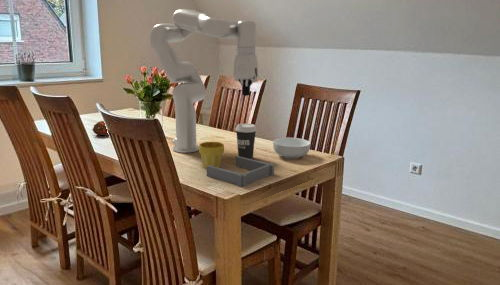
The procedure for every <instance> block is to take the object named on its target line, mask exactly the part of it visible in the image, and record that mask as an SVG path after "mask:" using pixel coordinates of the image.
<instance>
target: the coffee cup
mask: <svg viewBox="0 0 500 285" xmlns="http://www.w3.org/2000/svg"><path fill="white" fill-rule="evenodd" d="M235 131H236V145H237V156H240V157H244V158H248V159H252V160H254V152H255V151H254V150H255V142H256V134H257V133H256V132H258V130H257V127H256V125H255V124H253V123H238V124H237V125H236V127H235Z"/></svg>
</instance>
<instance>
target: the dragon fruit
mask: <svg viewBox="0 0 500 285" xmlns="http://www.w3.org/2000/svg"><path fill="white" fill-rule="evenodd" d="M105 123H106V122H105ZM105 123H104V120H100V121H97V122H96V123H95V124H94V125H93V127H92V129H91V131H92V132H93V133H94V134H95V135H96V134H97V135H96V136H99V135H104V136H105V135H106V134H107V135H109V134H108V133H107V129H106V126H105Z"/></svg>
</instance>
